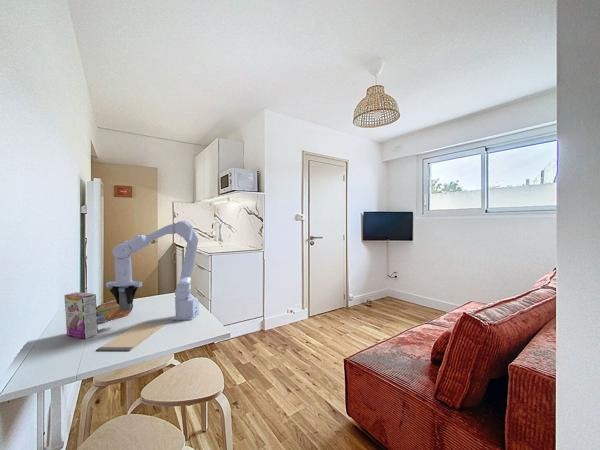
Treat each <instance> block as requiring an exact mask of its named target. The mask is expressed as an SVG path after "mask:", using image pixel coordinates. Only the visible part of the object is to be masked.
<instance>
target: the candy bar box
mask: <svg viewBox="0 0 600 450" xmlns="http://www.w3.org/2000/svg"><path fill="white" fill-rule="evenodd" d="M63 296H64V307H65V308H64V309H65V325H66V327H65V328H66V336H68V337H72V338H78V339H82V340H88V339H90V338H92V337H94V336H97V335H99V330H98V329H99V328H98V327H99V326H98V321H97V294H95V293H91V292H90V293H89V292H82V291H75V292H71V293H67V294H65V295H63Z"/></svg>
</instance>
